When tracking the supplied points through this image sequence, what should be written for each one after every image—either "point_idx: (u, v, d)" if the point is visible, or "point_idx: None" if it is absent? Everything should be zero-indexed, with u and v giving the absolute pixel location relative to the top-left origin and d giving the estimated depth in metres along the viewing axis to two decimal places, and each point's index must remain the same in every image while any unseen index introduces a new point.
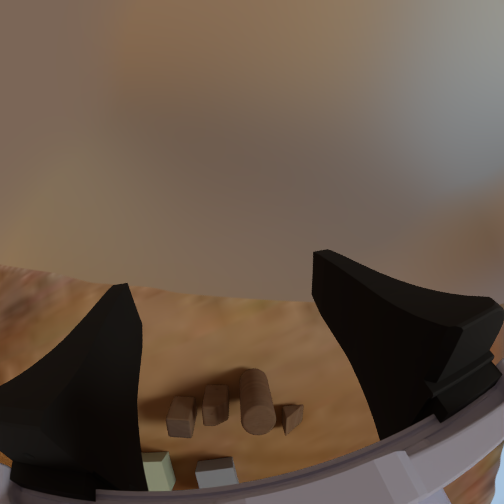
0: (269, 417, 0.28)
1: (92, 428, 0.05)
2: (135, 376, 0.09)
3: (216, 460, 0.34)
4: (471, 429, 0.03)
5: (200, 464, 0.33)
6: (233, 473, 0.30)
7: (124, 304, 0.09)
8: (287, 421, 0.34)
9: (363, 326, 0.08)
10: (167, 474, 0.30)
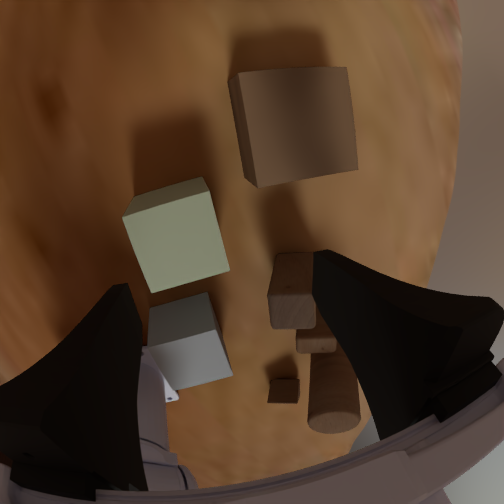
0: (340, 430, 0.20)
1: (92, 428, 0.05)
2: (135, 376, 0.09)
3: (217, 322, 0.24)
4: (471, 429, 0.03)
5: (211, 307, 0.23)
6: (221, 377, 0.21)
7: (124, 304, 0.09)
8: (290, 403, 0.27)
9: (363, 326, 0.08)
10: None
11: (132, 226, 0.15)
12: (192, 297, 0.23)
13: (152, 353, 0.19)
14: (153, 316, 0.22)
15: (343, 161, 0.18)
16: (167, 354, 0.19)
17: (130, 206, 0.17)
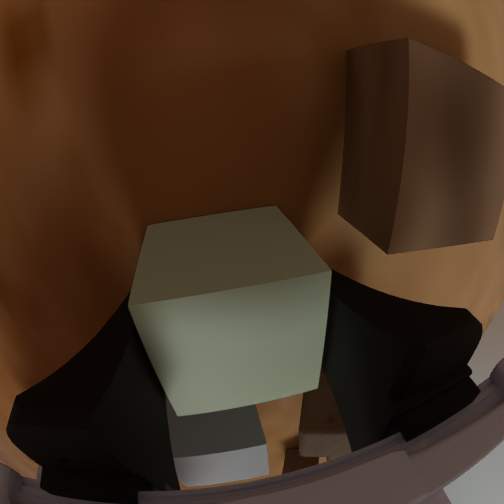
0: None
1: (133, 428, 0.05)
2: None
3: None
4: (471, 429, 0.03)
5: None
6: (253, 477, 0.13)
7: None
8: None
9: (333, 335, 0.08)
10: None
11: (150, 324, 0.07)
12: None
13: None
14: None
15: (485, 226, 0.10)
16: (187, 464, 0.11)
17: (143, 262, 0.08)
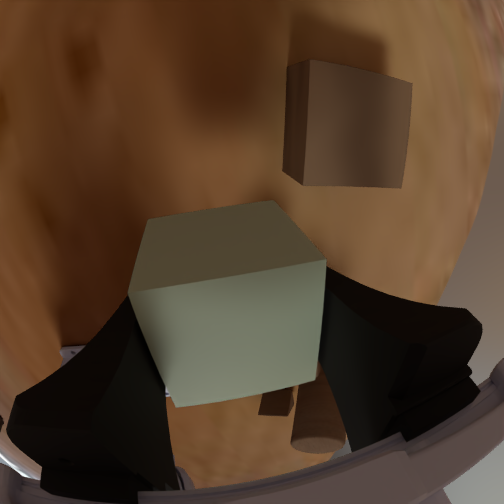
0: (324, 451, 0.19)
1: (133, 427, 0.05)
2: None
3: None
4: (471, 429, 0.03)
5: None
6: None
7: None
8: (281, 415, 0.26)
9: (333, 335, 0.08)
10: None
11: (149, 312, 0.07)
12: None
13: None
14: None
15: (390, 177, 0.17)
16: None
17: (143, 253, 0.08)
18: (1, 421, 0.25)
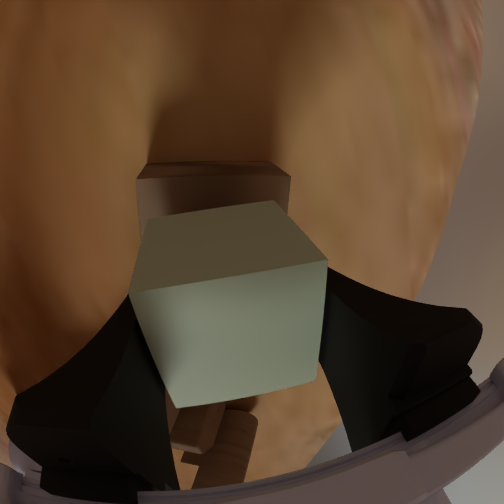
0: None
1: (133, 427, 0.05)
2: None
3: None
4: (471, 429, 0.03)
5: None
6: None
7: None
8: None
9: (333, 335, 0.08)
10: None
11: (150, 312, 0.07)
12: None
13: None
14: None
15: None
16: None
17: (143, 253, 0.08)
18: None
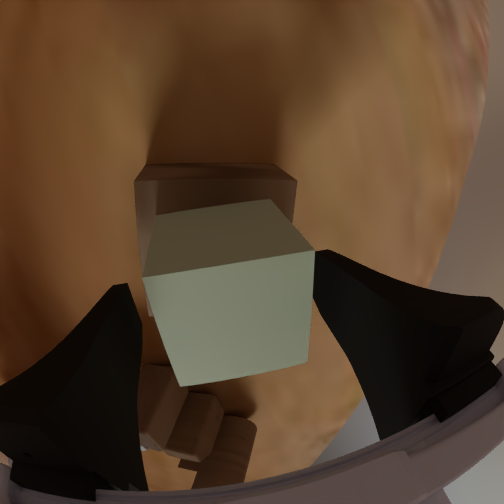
0: None
1: (92, 428, 0.05)
2: (135, 376, 0.09)
3: None
4: (471, 429, 0.03)
5: None
6: None
7: (124, 304, 0.09)
8: (198, 471, 0.25)
9: (363, 326, 0.08)
10: None
11: (160, 294, 0.08)
12: None
13: None
14: None
15: None
16: None
17: (154, 244, 0.10)
18: None
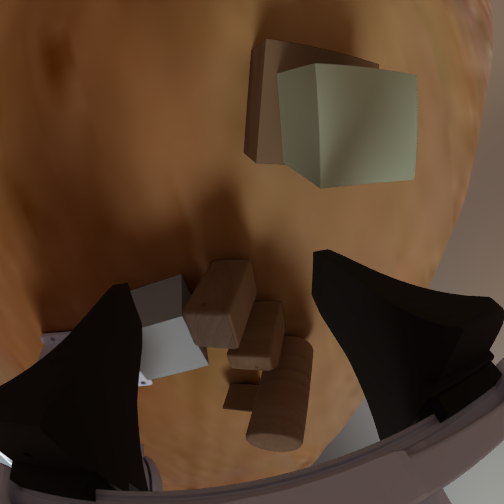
0: (282, 449, 0.19)
1: (92, 428, 0.05)
2: (135, 376, 0.09)
3: None
4: (471, 429, 0.03)
5: (184, 291, 0.21)
6: (196, 367, 0.20)
7: (124, 304, 0.09)
8: (246, 410, 0.26)
9: (363, 326, 0.08)
10: None
11: (325, 79, 0.09)
12: (165, 280, 0.22)
13: None
14: None
15: None
16: None
17: None
18: None
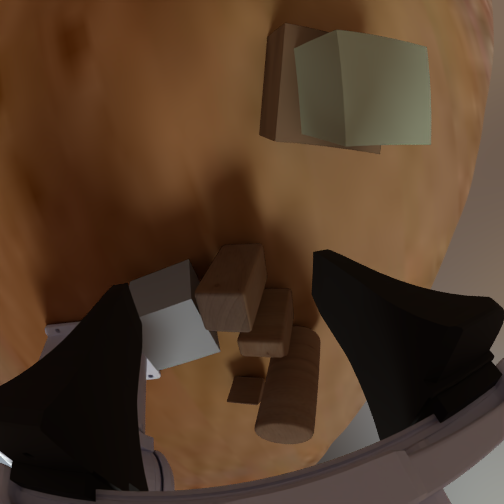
0: (291, 441, 0.19)
1: (92, 428, 0.05)
2: (135, 376, 0.09)
3: None
4: (471, 429, 0.03)
5: (192, 276, 0.21)
6: (207, 354, 0.20)
7: (124, 304, 0.09)
8: (251, 404, 0.26)
9: (363, 326, 0.08)
10: None
11: (347, 44, 0.09)
12: (173, 266, 0.21)
13: None
14: (132, 290, 0.20)
15: None
16: (143, 330, 0.18)
17: (320, 38, 0.10)
18: None
